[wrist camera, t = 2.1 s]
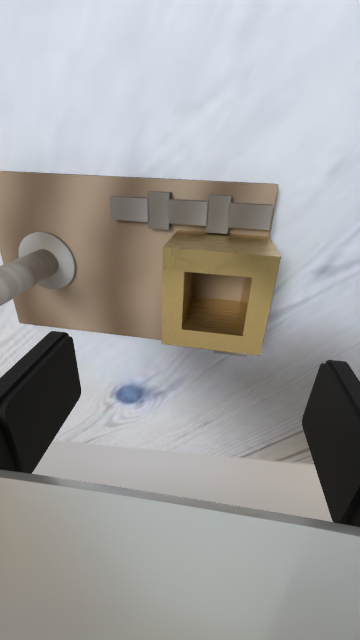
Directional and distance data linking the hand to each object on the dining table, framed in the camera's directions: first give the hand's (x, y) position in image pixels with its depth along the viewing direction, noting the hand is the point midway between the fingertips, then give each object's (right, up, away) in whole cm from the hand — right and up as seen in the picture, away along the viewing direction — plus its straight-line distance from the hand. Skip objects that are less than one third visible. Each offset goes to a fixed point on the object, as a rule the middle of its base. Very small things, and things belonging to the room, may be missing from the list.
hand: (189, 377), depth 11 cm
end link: (+2, +5, +9) cm, 11 cm away
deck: (-4, +7, +11) cm, 14 cm away
